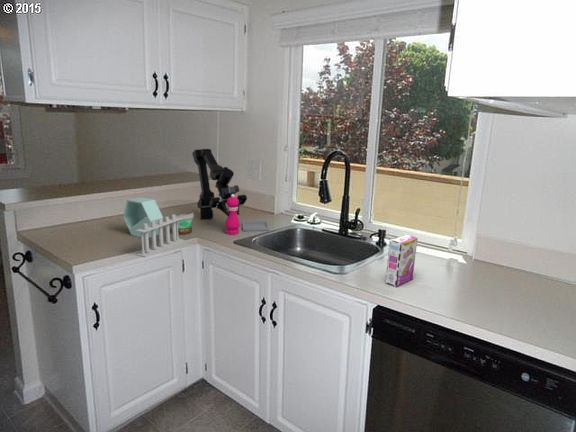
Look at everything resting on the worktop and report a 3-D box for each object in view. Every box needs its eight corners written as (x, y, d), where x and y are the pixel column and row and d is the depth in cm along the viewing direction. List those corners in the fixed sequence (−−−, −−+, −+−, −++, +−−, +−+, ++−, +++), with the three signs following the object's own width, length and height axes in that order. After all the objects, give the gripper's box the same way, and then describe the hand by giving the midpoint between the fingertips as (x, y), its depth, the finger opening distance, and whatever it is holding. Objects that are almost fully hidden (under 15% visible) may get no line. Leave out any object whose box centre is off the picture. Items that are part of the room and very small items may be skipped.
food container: (176, 237, 188) (175, 216, 186) (170, 234, 193) (169, 214, 190) (199, 232, 196) (198, 213, 194) (193, 230, 201) (192, 211, 198)
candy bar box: (396, 287, 137) (401, 243, 133) (384, 283, 141) (388, 239, 137) (413, 279, 145) (418, 237, 141) (401, 275, 148) (405, 234, 144)
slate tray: (242, 231, 201) (242, 227, 200) (242, 224, 213) (242, 221, 213) (268, 231, 202) (268, 227, 202) (267, 224, 215) (267, 221, 214)
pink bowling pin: (242, 232, 199) (243, 193, 194) (234, 236, 192) (235, 196, 187) (230, 230, 202) (230, 192, 197) (222, 233, 195) (222, 194, 190)
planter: (136, 245, 189) (117, 207, 190) (149, 241, 196) (131, 204, 197) (155, 231, 180) (136, 191, 181) (168, 227, 186) (149, 189, 188)
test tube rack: (145, 257, 161) (143, 226, 157) (136, 256, 162) (134, 225, 159) (183, 241, 183) (182, 213, 180) (175, 239, 185) (174, 212, 181)
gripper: (210, 181, 189) (220, 208, 182) (245, 178, 199) (255, 204, 193) (205, 194, 197) (214, 220, 191) (238, 191, 207) (248, 216, 201)
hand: (233, 215), depth 193 cm, fingers closed on pink bowling pin, 5 cm apart
